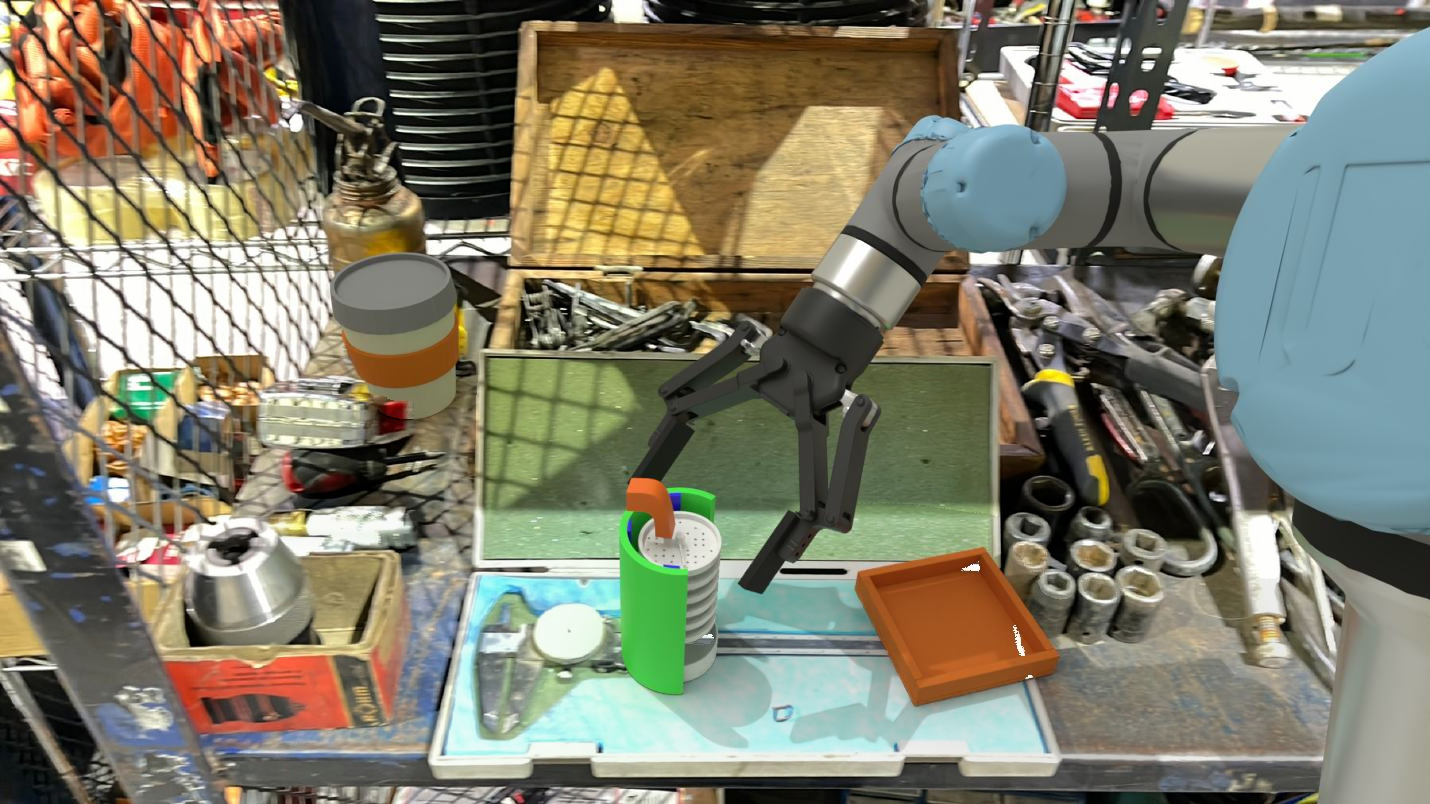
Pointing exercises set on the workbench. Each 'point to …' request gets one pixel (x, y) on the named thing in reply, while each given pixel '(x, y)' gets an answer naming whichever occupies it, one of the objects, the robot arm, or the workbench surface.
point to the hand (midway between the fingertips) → (691, 536)
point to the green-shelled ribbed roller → (668, 583)
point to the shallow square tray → (953, 625)
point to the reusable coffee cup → (400, 327)
